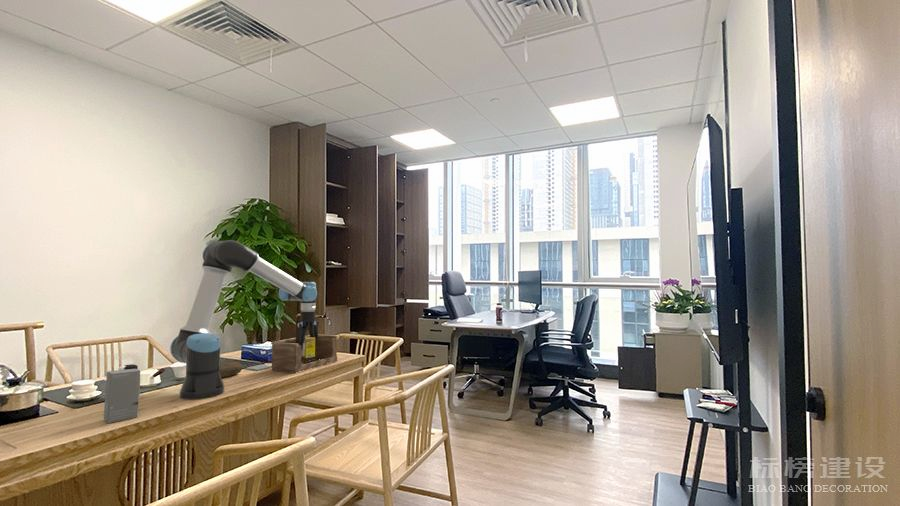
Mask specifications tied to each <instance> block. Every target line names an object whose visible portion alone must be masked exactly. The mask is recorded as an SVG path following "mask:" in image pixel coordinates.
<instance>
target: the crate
mask: <svg viewBox="0 0 900 506" xmlns="http://www.w3.org/2000/svg"><path fill="white" fill-rule="evenodd" d="M305 337H310V334H308V335H305ZM338 338H339V335H333V334H320V333H318V340H317V341H315V358H313V359H315V360H314V361H313V359H308V360H305V359H301V345H299V343H297V342H296V337H292V338H287V339H282V340H275V341H271V342H270V344H271V366H272V368H271V371H276V372H283V373H284V372H285V373H290V372H293V373H292V374H297V373H296V372H298V373H300V372H299V371H302V372H304V371H303V370H305V371H307V370H306V369H309V370H311V369H310V368H312V369H314V368H313V367H316V368H318V366H319V367H322V366H321V365H323V366H325V365H324V364H326V365H328V364H327V363H330V364H332V363H331V362H333V363H336V362H335V361H337V362H338V356H337V349H338V347H337V343H338V341H337V340H338ZM316 359H320V360H316ZM309 360H311V362H310V361H309ZM305 361H307V362H308V363H307V362H305ZM302 362H303V363H302Z"/></svg>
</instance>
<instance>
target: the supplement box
mask: <svg viewBox="0 0 900 506" xmlns="http://www.w3.org/2000/svg"><path fill="white" fill-rule="evenodd" d="M301 341H302V340H301ZM304 343H305V352H304V356H301V359H305V360H308V359H313V358H315V338H314V337H305V339H304Z"/></svg>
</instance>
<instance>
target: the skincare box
mask: <svg viewBox="0 0 900 506" xmlns="http://www.w3.org/2000/svg"><path fill="white" fill-rule="evenodd" d="M139 386H140V387H141V369H139V368H138V369H126V370H118V369H116V370H110V371H109V370H108V371H106V380H105V391H104V392H105V394H104V404H103V405H104V407H103V408H104V409H103V420H104V421H105V422H107V424H112V423H116V422H121V421H125V420H129V419H130V418H131V419H134V418H135V417H136V418H138V417H139V414H138V413H139V402H140V401H139V398H140V395H139Z"/></svg>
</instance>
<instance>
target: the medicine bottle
mask: <svg viewBox="0 0 900 506" xmlns="http://www.w3.org/2000/svg"><path fill="white" fill-rule="evenodd" d="M138 367H139V366H138V365H137V364H135V363H134V364H124V365H121V366H119V367H118V369H117V370H126V369H138V370H139V368H138ZM140 392H141V385H140V386H139V396H140V394H141V393H140Z"/></svg>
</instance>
